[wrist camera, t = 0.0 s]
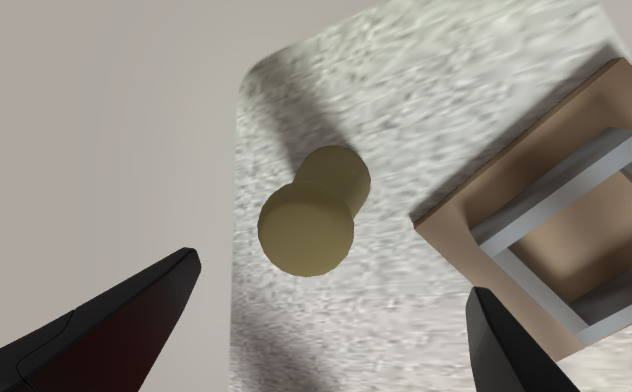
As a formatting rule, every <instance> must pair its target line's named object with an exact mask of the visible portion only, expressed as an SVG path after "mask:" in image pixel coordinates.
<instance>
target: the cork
mask: <svg viewBox="0 0 632 392" xmlns="http://www.w3.org/2000/svg"><path fill="white" fill-rule="evenodd" d="M370 182H371V178H370V175H369V171H368V168H367V166H366V165H365V163H364V162H363V160H362V159H361V158H360V157H359V156H358V155H356V154H355V153H354V152H353V151H351V150H348V149H346V148H343V147H340V146H327V147H323V148H320V149H317V150H316V151H314V152H313V153H311V154H310V155H309V156H308V157H307V158H306V159H305V161H304V162H303V164H302V165H301V167H300V169H299V171H298V173H297V174H296V176H295V178H294V180H293V182H292V183H290V184H287V185H285V186H283V187H282V188H280V189H279V190H277V191H276V192H274V193H273V194H272V195H271V196H270V197H269V198H268V200H267V201H266V203H265V204H264V205H263V207H262V210H261V213H260V216H259V220H258V224H257V227H258V238H259V241H260V243H261V246H262V248H263V251H264V253H265V254H266V256H267V257H268V258H269V260H270V261H271V262H272V263H273V264H274V265H275V266H277V267H278V268H279V269H281V270H282V271H284V272H287V273H289V274H292V275H294V276H302V277H311V276H317V275H323V274H325V273H327V272H329V271H331V270H333V269H335V268H336V267H337V266H338V265H339V263H340V262H341V261H342V260H343V259H344V258H345V257H346V256H347V255H348V252H349V250H350V247H351V245H352V242H353V238H354V221H353V219H354V217H355V216H356V214H357V213H358V211H359V210H360V208H361V207H362V205H363V204H364V203H365V201H366V199H367V197H368V194H369V192H370Z"/></svg>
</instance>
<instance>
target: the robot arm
mask: <svg viewBox="0 0 632 392" xmlns="http://www.w3.org/2000/svg"><path fill="white" fill-rule="evenodd" d="M200 272H201V263H200V260H199V257H198V254H197V251H196V250H195V249H194V248H186V247H184V248H182V249H180V250H178V251H176V252H174V253H172V254H171V255H169V256H167V257H165V258H164V259H162V260H160V261H158V262H157V263H155V264H153V265H151V266H150V267H148V268H146V269H144V270H142V271H141V272H139V273H137V274H135V275H134V276H132V277H130V278H128V279H127V280H125V281H123V282H121V283H119V284H118V285H116V286H114V287H112V288H111V289H109V290H107V291H105V292H104V293H102V294H100V295H98V296H96V297H95V298H93V299H91V300H89V301H88V302H86V303H84V304H82V305H81V306H79V307H77V308H76V309H75V310H72V311H70V312H68V313H67V314H65V315H63V316H61V317H59V318H58V319H56V320H54V321H52V322H50V323H48V324H46V325H45V326H43V327H41V328H39V329H37V330H35V331H33V332H31V333H29V334H28V335H26V336H23V337H22V338H20V339H18V340H16V341H14V342H12V343H10V344H8V345H6V346H4V347H2V348H0V392H138V391H139V389H140V388H141V385H142V384H143V382H144V380H145V378H146V377H147V375H148V373H149V371H150V370H151V368H152V366H153V364H154V363H155V361H156V359H157V357H158V355H159V354H160V352H161V350H162V348H163V347H164V345H165V343H166V341H167V339H168V338H169V336H170V334H171V332H172V331H173V329H174V327H175V325H176V323H177V321H178V320H179V318H180V316H181V314H182V312H183V310H184V308H185V306H186V304H187V302H188V300H189V297H190V295H191V293H192V290H193V288H194V286H195V284H196V281H197V279H198V277H199V274H200ZM466 321H467V331H468V342H469V352H470V361H471V367H472V372H473V377H474V382H475V386H476V391H477V392H580V390H579V389H578V388H577V387H576V386H575V385H574V384H573V383H572V381H571V380H570V379H569V378H568V377H567V376H566V375H565V373H564V372H563V371H562V370H561V369H560V368H559V367H558V366H557V364H556V363H555V362H554V361H553V360H552V359H551V358H550V357H549V355H548V354H547V353H546V352H545V351H544V350H543V349H542V348H541V346H540V345H539V344H538V343H537V342H536V341H535V340H534V339H533V337H532V336H531V335H530V334H529V333H528V332H527V331H526V330H525V328H524V327H523V326H522V325H521V324H520V323H519V322H518V320H517V319H516V318H515V317H514V316H513V315H512V314H511V313H510V311H509V310H508V309H507V308H506V307H505V306H504V305H503V304H502V302H501V301H500V300H499V299H498V298H497V297H496V296H495V295H494V293H493V292H492V291H491V290H490V289H488V288H485V287H477V286H474V287H473V288H472V289H471V292H470V295H469V297H468V300H467V303H466Z"/></svg>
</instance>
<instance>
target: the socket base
mask: <svg viewBox="0 0 632 392" xmlns="http://www.w3.org/2000/svg"><path fill="white" fill-rule="evenodd" d="M413 226H414V230H415V231H416V232H417V233H418V234H420V235H421V236H422V237H423V238H424V239H425V240H426V241H427V242H428V243H429V244H430V245H431V246H432V247H433V248H435V249H436V250H437V251H438V252H439V253H440V254H441V255H442V256H443V257H444V258H445V259H446V260H447V261H448V262H450V263H451V264H452V265H453V266H454V267H455V268H456V269H457V270H458V271H459V272H460V273H461V274H462V275H463V276H465V277H466V278H467V279H468V280H469V281H470V282H471V283H472V284H473V285H474V286H477V287H485V288H488V289H490V290H491V291H492V292H493V293H494V295H495V296H496V297H497V298H498V299H499V300H500V301H501V302H502V304H503V305H504V306H505V307H506V308H507V309H508V310H509V311H510V313H511V314H512V315H513V316H514V317H515V318H516V319H517V320H518V322H519V323H520V324H521V325H522V326H523V327H524V328H525V330H526V331H527V332H528V333H529V334H530V335H531V336H532V337H533V339H534V340H535V341H536V342H537V343H538V344H539V345H540V346H541V348H542V349H543V350H544V351H545V352H546V353H547V354H548V355H549V356H550V357H551V358H552V359H553V360H554V361H555V362H557V361H559V360H562V359H564V358H566V357H568V356H570V355H572V354H574V353H576V352H578V351H580V350H582V349H584V348H586V347H588V346H590V345H592V344H594V343H596V342H598V341H600V340H602V339H604V338H606V337H608V336H610V335H612V334H614V333H616V332H618V331H620V330H622V329H624V328H626V327H628V326H630V325H632V66H631V65H630V64H629V63H628V61H627V60H626V59H625V58H624V57H623V58H617V59H612V60H610V61H609V62H608V63H607V64H606V65H604V66H603V67H602V68H601V69H600V70H598V71H597V72H596V73H595V74H594V75H592V76H591V77H590V78H589V79H587V80H586V81H585V82H584V83H583V84H581V85H580V86H579V87H578V88H577V89H575V90H574V91H573V92H572V93H571V94H569V95H568V96H567V97H566V98H565V99H563V100H562V101H561V102H560V103H559V104H557V105H556V106H555V107H554V108H553V109H551V110H550V111H549V112H548V113H547V114H545V115H544V116H543V117H542V118H541V119H539V120H538V121H537V122H536V123H535V124H533V125H532V126H531V127H530V128H529V129H527V130H526V131H525V132H524V133H523V134H521V135H520V136H519V137H518V138H517V139H515V140H514V141H513V142H512V143H511V144H509V145H508V146H507V147H506V148H505V149H503V150H502V151H501V152H500V153H498V154H497V155H496V156H495V157H494V158H492V159H491V160H490V161H489V162H488V163H486V164H485V165H484V166H483V167H482V168H480V169H479V170H478V171H477V172H476V173H474V174H473V175H472V176H471V177H470V178H468V179H467V180H466V181H465V182H464V183H462V184H461V185H460V186H459V187H458V188H456V189H455V190H454V191H453V192H452V193H450V194H449V195H448V196H447V197H446V198H444V199H443V200H442V201H441V202H440V203H438V204H437V205H436V206H435V207H434V208H432V209H431V210H430V211H429V212H428V213H426V214H425V215H424V216H423V217H422V218H420V219H419V220H418V221H417V222H416V223H414V224H413Z"/></svg>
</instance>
